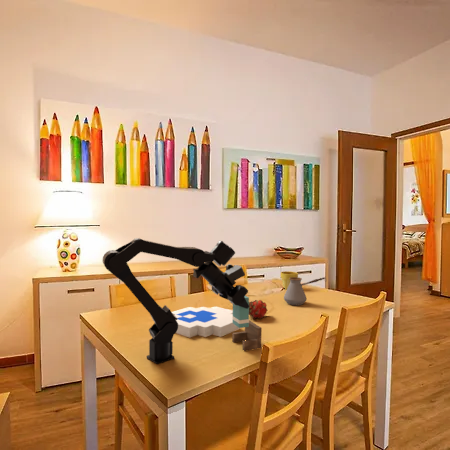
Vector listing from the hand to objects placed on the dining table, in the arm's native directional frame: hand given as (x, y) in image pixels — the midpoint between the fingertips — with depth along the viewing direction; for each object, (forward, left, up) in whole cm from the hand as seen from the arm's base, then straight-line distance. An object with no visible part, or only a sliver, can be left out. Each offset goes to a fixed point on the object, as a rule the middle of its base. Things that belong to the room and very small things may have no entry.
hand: (244, 305), depth 122 cm
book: (-1, 0, -7) cm, 7 cm away
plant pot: (+85, +43, -14) cm, 96 cm away
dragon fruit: (+28, +18, -14) cm, 36 cm away
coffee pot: (+61, +16, -14) cm, 64 cm away
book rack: (0, 0, -14) cm, 14 cm away
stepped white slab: (+4, +26, -15) cm, 30 cm away
